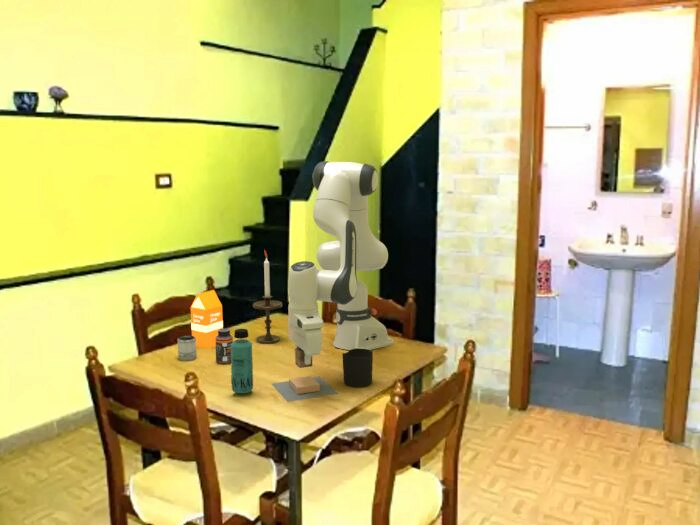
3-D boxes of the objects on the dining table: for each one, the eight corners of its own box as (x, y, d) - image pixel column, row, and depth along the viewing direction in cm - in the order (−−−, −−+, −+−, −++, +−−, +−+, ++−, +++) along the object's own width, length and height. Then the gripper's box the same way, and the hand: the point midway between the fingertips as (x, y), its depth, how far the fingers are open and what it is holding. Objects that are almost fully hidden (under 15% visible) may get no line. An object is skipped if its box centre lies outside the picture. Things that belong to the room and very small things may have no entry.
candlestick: (260, 346, 246) (258, 252, 240) (249, 339, 255) (247, 248, 249) (287, 341, 251) (285, 250, 245) (275, 334, 260) (273, 246, 254)
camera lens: (197, 360, 230) (196, 338, 229) (178, 362, 229) (177, 339, 227) (196, 354, 236) (195, 333, 235) (177, 356, 234) (176, 334, 233)
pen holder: (376, 387, 204) (376, 356, 202) (346, 390, 202) (345, 358, 200) (369, 377, 213) (368, 347, 211) (340, 379, 211) (339, 349, 209)
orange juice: (223, 342, 251) (221, 290, 247) (207, 348, 243) (204, 295, 240) (208, 339, 255) (206, 288, 251) (191, 345, 247) (189, 292, 244)
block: (307, 362, 203) (307, 346, 203) (312, 366, 200) (312, 350, 199) (295, 364, 202) (295, 348, 201) (299, 368, 198) (299, 351, 197)
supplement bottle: (229, 365, 225) (228, 332, 223) (213, 363, 226) (211, 331, 224) (236, 359, 231) (235, 328, 229) (220, 358, 232) (218, 327, 230)
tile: (310, 375, 207) (319, 384, 200) (310, 382, 207) (319, 391, 200) (289, 379, 204) (297, 387, 197) (289, 385, 205) (297, 394, 197)
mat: (319, 377, 213) (319, 376, 213) (338, 394, 198) (338, 393, 198) (271, 384, 207) (271, 383, 206) (287, 403, 192) (287, 401, 192)
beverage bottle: (232, 390, 202) (230, 326, 198) (254, 389, 202) (252, 326, 199) (230, 398, 196) (228, 333, 192) (253, 398, 196) (251, 332, 192)
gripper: (282, 310, 206) (283, 352, 209) (304, 325, 188) (305, 372, 190) (301, 308, 209) (302, 350, 211) (325, 323, 190) (326, 369, 193)
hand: (304, 361), depth 201 cm, fingers closed on block, 4 cm apart
